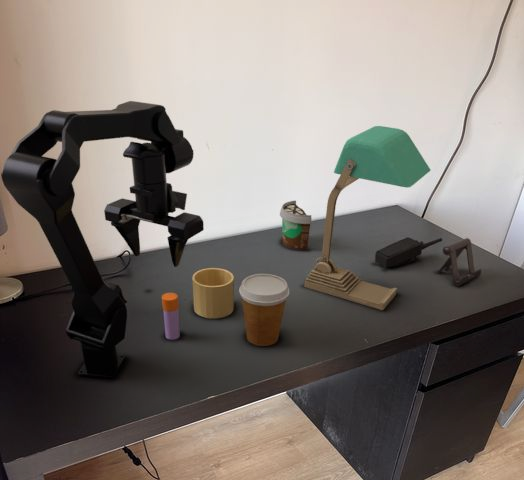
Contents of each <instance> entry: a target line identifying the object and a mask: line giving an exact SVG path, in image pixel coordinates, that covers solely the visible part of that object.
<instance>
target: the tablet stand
mask: <svg viewBox="0 0 524 480" xmlns="http://www.w3.org/2000/svg"><path fill="white" fill-rule="evenodd" d="M464 250H465V251H466V257H467V264H468V274H467V275H465V276H462V277H460V274H459V266H458V258H459V256H460V255H461V254H462V253H463V252H464ZM442 253H443V255H444V256H449V257H448V258H447V259H446V261H445V262H444V263H443V264H442V266H441V267H440V268H439V269H438V271H437V274H440V273H441V272H443V270H445V271H446V270H448V269H450V268H451V272H452V279H453V285H455V286H456V287H460V286H462V285H464V284H466V283H468V282H470V281H472V280H474V279H476V278H478V277H480V276H481V275H482V269H481V268H478V269H477V270H476V269H475V265H474V264H475V263H474V255H473V247H472V240H471V239H470V238H469V237H466V238H463V239H461V240H458V241H455V242H453V243H450V244H449V245H446V246H444V247H443V248H442Z"/></svg>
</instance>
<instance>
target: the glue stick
mask: <svg viewBox="0 0 524 480" xmlns="http://www.w3.org/2000/svg"><path fill="white" fill-rule="evenodd" d="M161 304H162V305H161V306H162V310H163V311H162V312H163V321H164V331H165V333H164V334H165V338H166V339H167V340H171V341H173V340H174V341H175V340H178V339H179V338H180V337H181V331H180V317H179V295H178V294H177V293H175V292H166V293H164V294H162V295H161Z"/></svg>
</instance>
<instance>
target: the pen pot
mask: <svg viewBox="0 0 524 480" xmlns="http://www.w3.org/2000/svg"><path fill="white" fill-rule="evenodd" d="M191 280H192V281H191V282H192V300H193V301H192V302H193V303H192V304H193V311H194V313H195V314H197V315H198V316H199V317H201V318H206V319H222V318H225V317H228V316H230V315H231V314H232V313H233V311H234V310H235V277H234V274H233V273H232V272H231V271H229V270H227V269H224V268H221V267H219V268H218V267H208V268H203V269H200V270H198V271H196V272H194V274H193V275H192V276H191Z"/></svg>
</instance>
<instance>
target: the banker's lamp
mask: <svg viewBox="0 0 524 480" xmlns="http://www.w3.org/2000/svg"><path fill="white" fill-rule="evenodd" d="M430 172H431V168H430V166H429V164H428V163H427V162H426V159H424V157H423V156H422V154H421V152H420V151H419V149H418V147H417V146H416V144H415V143H414V141H413V140H412V138H411V136H410V135H409V134H408V132H407V131H405V130H403V129H400V128H396V127H390V126H383V125H375V126H372V127H370V128H368V129H366V130H364V131H362V132H360V133H358V134H355V135H354V136H352V137H350V138H349V139H347V140H346V141H345V143H344V144H343V147H342V149H341V152H340V154H339V157H338V160H337V162H336V165H335V168H334V170H333V173H334V174H335V175H339V177H338V179H337V181H336V183H335V185H334V187H333V188H332V190H331V191H330V193H329V195H328V198H327V203H326V204H327V205H326V211H325V212H326V213H325V222H324V231H323V240H322V241H323V242H322V250H321V257H318V258H316V261H315V263H316V264H315V265H314V266H313V269H312V270H310V272H309V274H308V276H307V277H306V278H305V281H304V288H307V289H310V290H312V291H313V290H314V291H316V292H319V293H323V294H326V295H330V296H334V297H336V298H340V299H344V300H347V301H350V302H353V303H357V304H360V305H363V306H367V307H370V308H374V309H377V310H380V311H384V310H385V308H386V307H387V306H388V305H389V304H390V303H391V301H393V299H394V297H396V295H397V290H398V288H397V287H393V288H389V287H386V286H382V285H378V284H374V283H371V282H367V281H364V280H362V279H361V278H359V276H356V274H354V272H352V271H350V270H349V269H346V268H342V267H338V266H336V263H335V261H334V260H333V259H331V252H332V250H331V249H332V241H333V234H334V233H333V231H334V223H335V216H336V215H335V214H336V208H337V207H336V206H337V201H338V198H339V195H340V194H341V193H342V191H344V189H345V188H346V187H348V186H350V185H351V184H353V183H354V182H356V181H357V180H359V179H361V180H366V181H371V182H375V183H380V184H381V183H382V184H385V185H392V186H396V187H400V188H401V187H402V188H411V187H413V186H414V185H415V184H416V183H418V182H419V181H421V179H422V178H424V177H425V176H426V175H427V174H429V173H430ZM319 260H320V261H319Z"/></svg>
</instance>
